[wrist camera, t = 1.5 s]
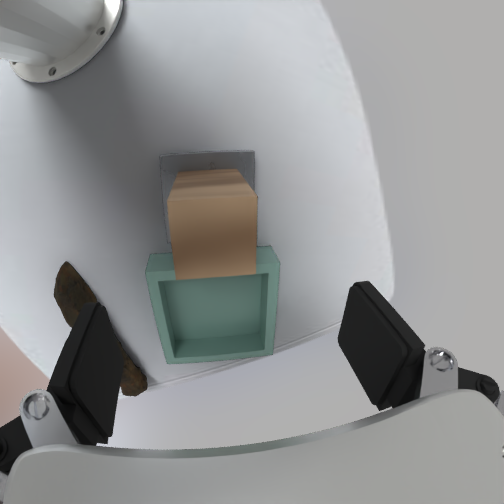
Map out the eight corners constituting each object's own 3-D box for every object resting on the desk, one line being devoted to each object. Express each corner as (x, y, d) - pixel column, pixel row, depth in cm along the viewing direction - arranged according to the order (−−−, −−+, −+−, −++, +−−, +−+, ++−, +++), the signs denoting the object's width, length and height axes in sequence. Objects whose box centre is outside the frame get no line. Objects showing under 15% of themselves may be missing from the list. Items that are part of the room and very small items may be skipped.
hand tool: (149, 373, 34) (147, 400, 30) (124, 377, 34) (121, 402, 30) (88, 253, 26) (72, 276, 22) (59, 261, 25) (42, 284, 21)
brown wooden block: (178, 171, 23) (167, 201, 15) (236, 168, 24) (257, 196, 16) (181, 226, 25) (176, 279, 17) (237, 223, 26) (255, 274, 18)
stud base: (161, 154, 23) (154, 161, 19) (252, 150, 24) (261, 155, 21) (168, 238, 26) (164, 258, 23) (251, 233, 28) (259, 251, 24)
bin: (150, 254, 27) (145, 272, 24) (270, 245, 29) (280, 262, 26) (168, 342, 32) (167, 364, 29) (266, 334, 34) (272, 354, 31)
